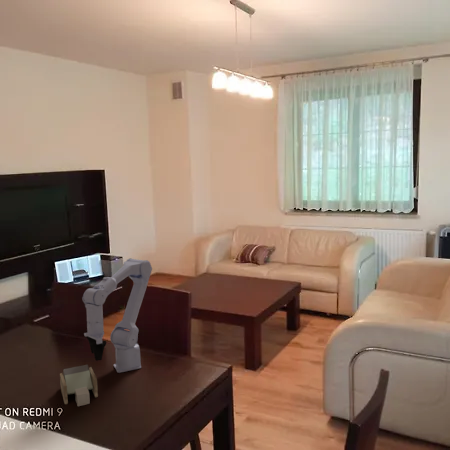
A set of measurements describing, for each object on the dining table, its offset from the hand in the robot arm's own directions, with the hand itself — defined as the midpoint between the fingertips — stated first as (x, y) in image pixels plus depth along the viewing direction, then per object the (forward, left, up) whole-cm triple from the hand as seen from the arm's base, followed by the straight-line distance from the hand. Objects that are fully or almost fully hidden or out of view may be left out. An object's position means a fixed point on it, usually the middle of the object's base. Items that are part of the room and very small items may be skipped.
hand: (96, 356), depth 171 cm
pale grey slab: (+8, +3, -7) cm, 11 cm away
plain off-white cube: (+7, +9, -9) cm, 15 cm away
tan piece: (+8, +5, -10) cm, 14 cm away
